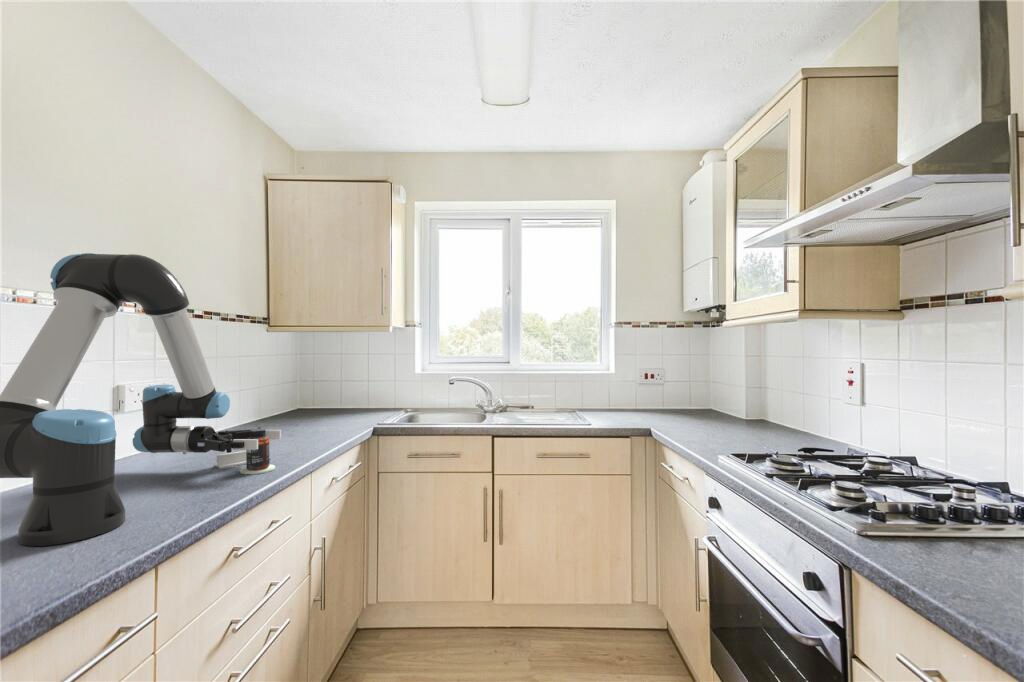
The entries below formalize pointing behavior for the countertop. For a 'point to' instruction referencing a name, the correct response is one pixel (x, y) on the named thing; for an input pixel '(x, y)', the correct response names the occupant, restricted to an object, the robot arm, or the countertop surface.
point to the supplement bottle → (258, 451)
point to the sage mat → (268, 469)
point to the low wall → (231, 459)
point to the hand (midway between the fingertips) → (269, 439)
